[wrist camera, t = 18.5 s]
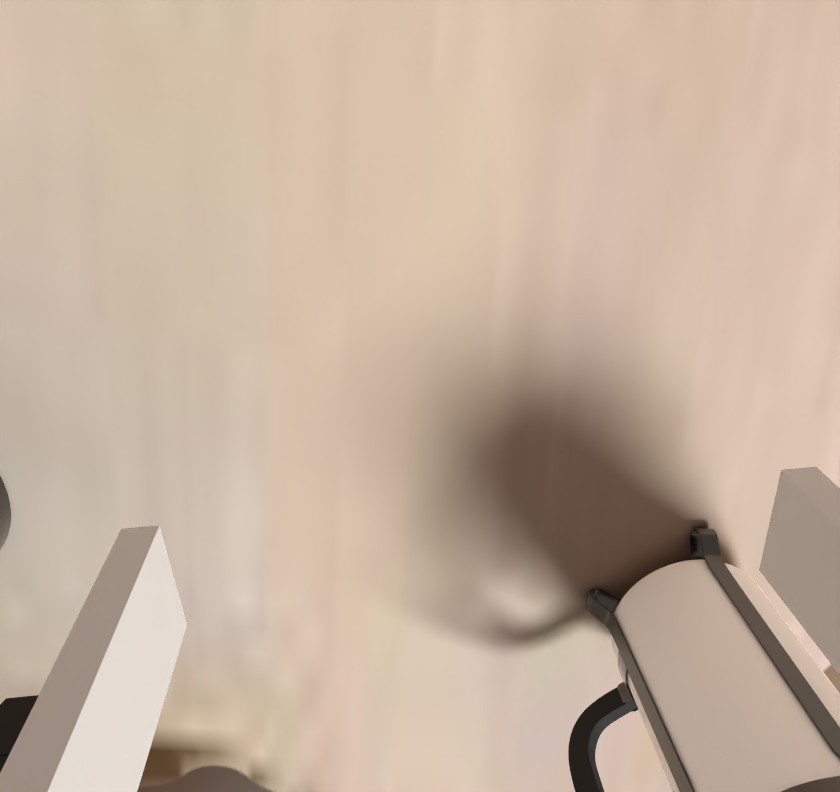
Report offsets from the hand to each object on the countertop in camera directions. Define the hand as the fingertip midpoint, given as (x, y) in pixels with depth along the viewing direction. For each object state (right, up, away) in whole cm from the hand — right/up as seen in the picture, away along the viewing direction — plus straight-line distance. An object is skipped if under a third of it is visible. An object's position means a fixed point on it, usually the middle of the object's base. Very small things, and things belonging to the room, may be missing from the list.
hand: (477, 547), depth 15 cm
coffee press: (+18, -14, +41) cm, 47 cm away
